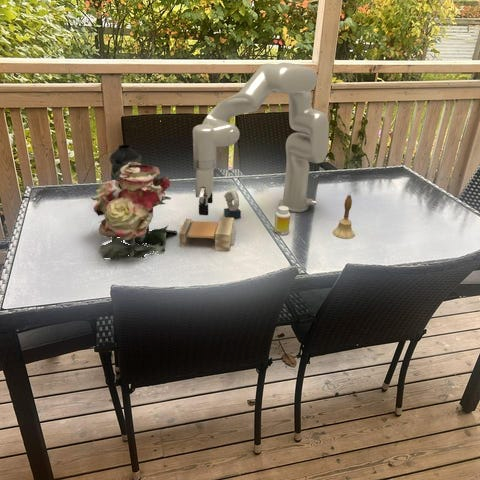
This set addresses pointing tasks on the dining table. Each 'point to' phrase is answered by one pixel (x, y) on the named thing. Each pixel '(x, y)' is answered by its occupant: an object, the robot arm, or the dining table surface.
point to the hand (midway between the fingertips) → (205, 208)
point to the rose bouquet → (132, 212)
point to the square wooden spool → (220, 237)
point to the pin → (231, 236)
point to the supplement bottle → (282, 220)
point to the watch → (232, 205)
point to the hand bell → (345, 222)
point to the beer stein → (122, 160)
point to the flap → (202, 229)
